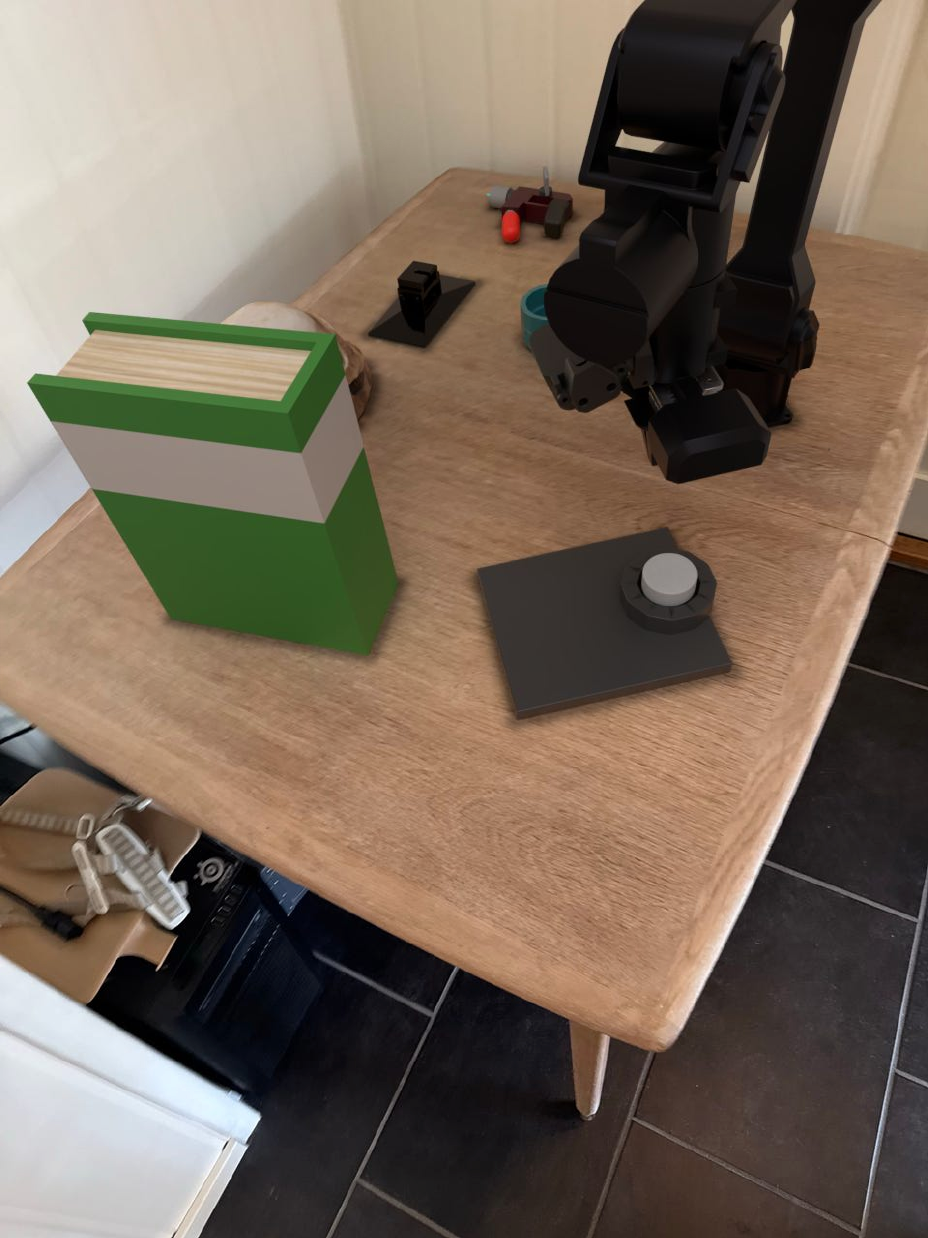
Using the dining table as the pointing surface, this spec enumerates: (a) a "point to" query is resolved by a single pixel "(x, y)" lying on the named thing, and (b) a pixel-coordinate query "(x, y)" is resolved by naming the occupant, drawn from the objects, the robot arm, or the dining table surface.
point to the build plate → (421, 305)
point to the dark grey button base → (597, 625)
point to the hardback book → (230, 473)
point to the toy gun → (531, 208)
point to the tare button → (669, 579)
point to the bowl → (532, 312)
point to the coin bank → (300, 320)
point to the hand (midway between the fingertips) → (657, 461)
